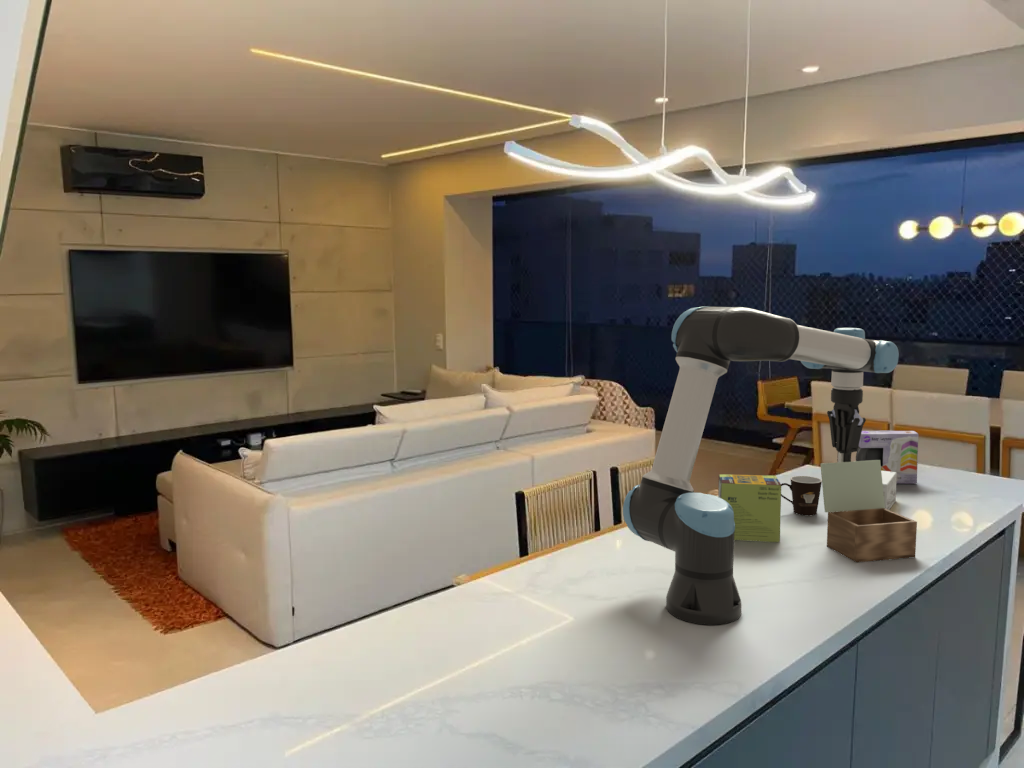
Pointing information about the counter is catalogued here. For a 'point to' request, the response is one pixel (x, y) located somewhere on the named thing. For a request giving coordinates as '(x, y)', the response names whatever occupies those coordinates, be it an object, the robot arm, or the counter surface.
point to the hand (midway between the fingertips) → (843, 476)
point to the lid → (852, 485)
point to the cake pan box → (891, 452)
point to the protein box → (753, 505)
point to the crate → (871, 534)
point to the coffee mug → (804, 494)
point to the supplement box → (889, 488)
